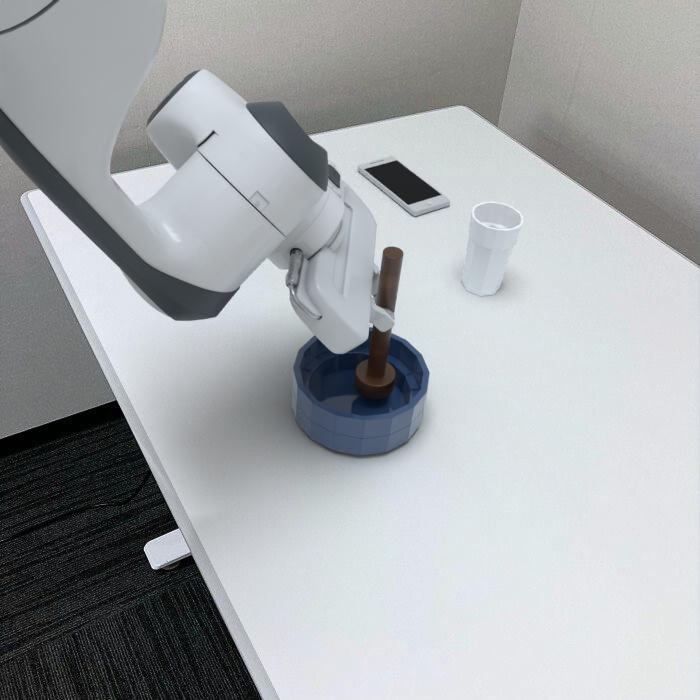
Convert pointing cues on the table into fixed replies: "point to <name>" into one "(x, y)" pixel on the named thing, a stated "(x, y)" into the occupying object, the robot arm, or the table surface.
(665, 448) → the table surface
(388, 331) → the stick
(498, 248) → the cup
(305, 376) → the bowl
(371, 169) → the smartphone
